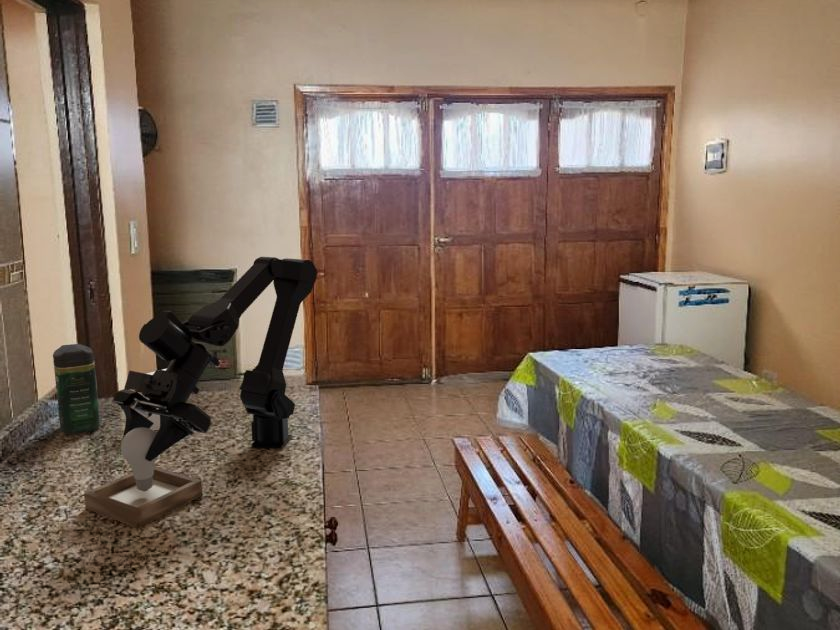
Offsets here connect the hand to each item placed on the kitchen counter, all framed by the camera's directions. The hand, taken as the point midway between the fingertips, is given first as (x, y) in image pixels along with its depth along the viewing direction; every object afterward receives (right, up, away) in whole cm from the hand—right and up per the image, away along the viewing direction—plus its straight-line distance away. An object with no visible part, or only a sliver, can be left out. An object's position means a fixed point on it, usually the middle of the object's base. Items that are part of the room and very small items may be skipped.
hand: (134, 456), depth 111 cm
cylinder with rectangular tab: (-10, -1, +41) cm, 42 cm away
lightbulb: (+1, -6, +2) cm, 7 cm away
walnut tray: (+1, -8, +3) cm, 9 cm away
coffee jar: (-28, -2, +38) cm, 47 cm away
